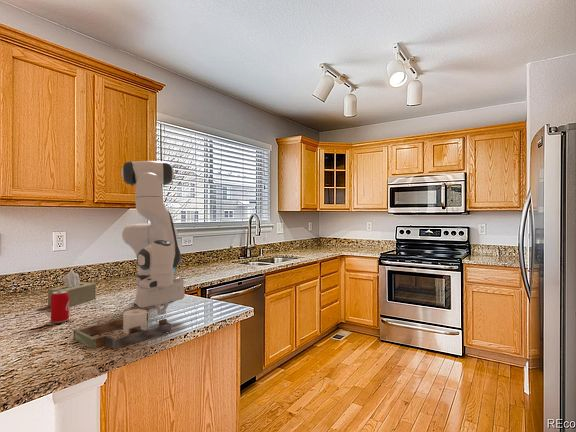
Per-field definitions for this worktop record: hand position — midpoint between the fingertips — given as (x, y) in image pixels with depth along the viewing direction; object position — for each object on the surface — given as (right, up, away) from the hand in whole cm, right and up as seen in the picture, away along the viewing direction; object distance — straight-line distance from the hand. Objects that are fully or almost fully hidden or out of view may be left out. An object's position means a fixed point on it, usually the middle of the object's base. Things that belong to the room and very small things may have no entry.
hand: (161, 313), depth 144 cm
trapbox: (-7, -3, -15) cm, 17 cm away
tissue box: (-53, -2, +28) cm, 60 cm away
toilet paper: (-6, -4, -8) cm, 11 cm away
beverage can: (-41, -3, -1) cm, 41 cm away
